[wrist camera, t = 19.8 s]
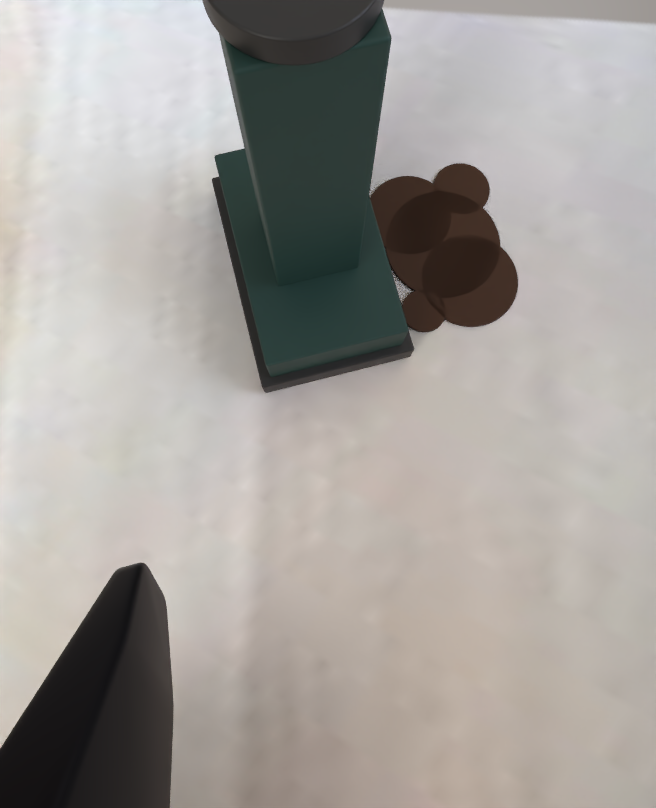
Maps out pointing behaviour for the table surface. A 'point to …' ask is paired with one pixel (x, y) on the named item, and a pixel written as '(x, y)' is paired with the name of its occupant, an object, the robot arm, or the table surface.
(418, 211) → the coffee spill
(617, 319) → the table surface
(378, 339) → the wiper
